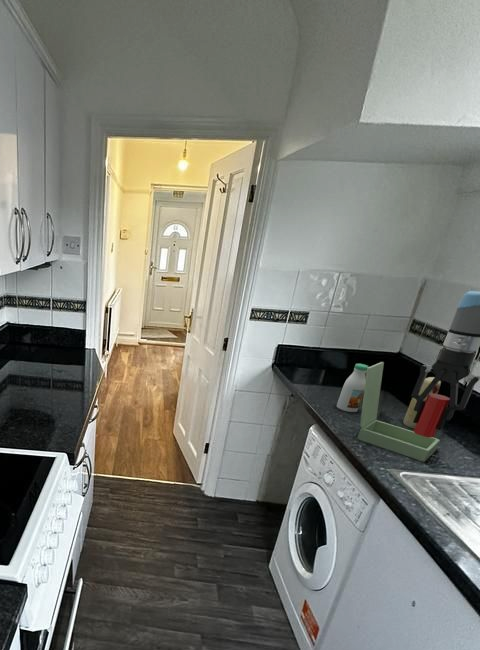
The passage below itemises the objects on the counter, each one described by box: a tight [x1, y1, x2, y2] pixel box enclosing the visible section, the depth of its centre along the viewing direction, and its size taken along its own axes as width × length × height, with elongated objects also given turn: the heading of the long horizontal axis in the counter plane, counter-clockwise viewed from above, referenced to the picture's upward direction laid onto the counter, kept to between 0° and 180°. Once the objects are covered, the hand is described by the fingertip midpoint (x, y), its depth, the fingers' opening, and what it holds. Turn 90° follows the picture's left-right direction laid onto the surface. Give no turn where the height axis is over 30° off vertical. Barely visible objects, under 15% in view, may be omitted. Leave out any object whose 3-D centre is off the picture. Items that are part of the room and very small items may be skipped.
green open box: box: [356, 419, 441, 463], centre depth 142 cm, size 20×14×5 cm
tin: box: [413, 393, 450, 438], centre depth 123 cm, size 5×5×12 cm
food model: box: [403, 376, 442, 430], centre depth 156 cm, size 10×7×20 cm
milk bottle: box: [336, 363, 369, 413], centre depth 168 cm, size 8×8×20 cm
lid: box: [359, 361, 385, 428], centre depth 145 cm, size 21×14×1 cm
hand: (427, 425), depth 124 cm, fingers closed on tin, 5 cm apart
